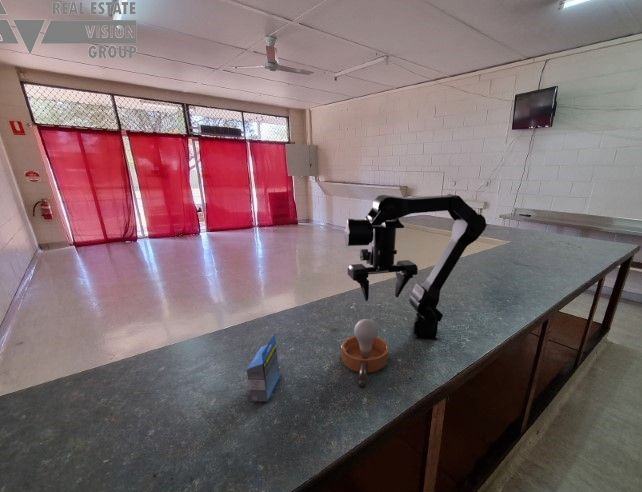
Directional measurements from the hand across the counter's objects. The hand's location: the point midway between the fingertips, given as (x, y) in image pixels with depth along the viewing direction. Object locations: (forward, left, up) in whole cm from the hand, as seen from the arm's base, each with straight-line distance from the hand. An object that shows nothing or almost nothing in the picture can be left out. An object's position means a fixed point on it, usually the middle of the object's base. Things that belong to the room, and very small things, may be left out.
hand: (381, 298), depth 89 cm
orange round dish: (+4, +11, -13) cm, 17 cm away
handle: (+4, +21, -11) cm, 24 cm away
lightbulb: (+4, +11, -13) cm, 17 cm away
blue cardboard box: (+26, +24, -13) cm, 38 cm away
